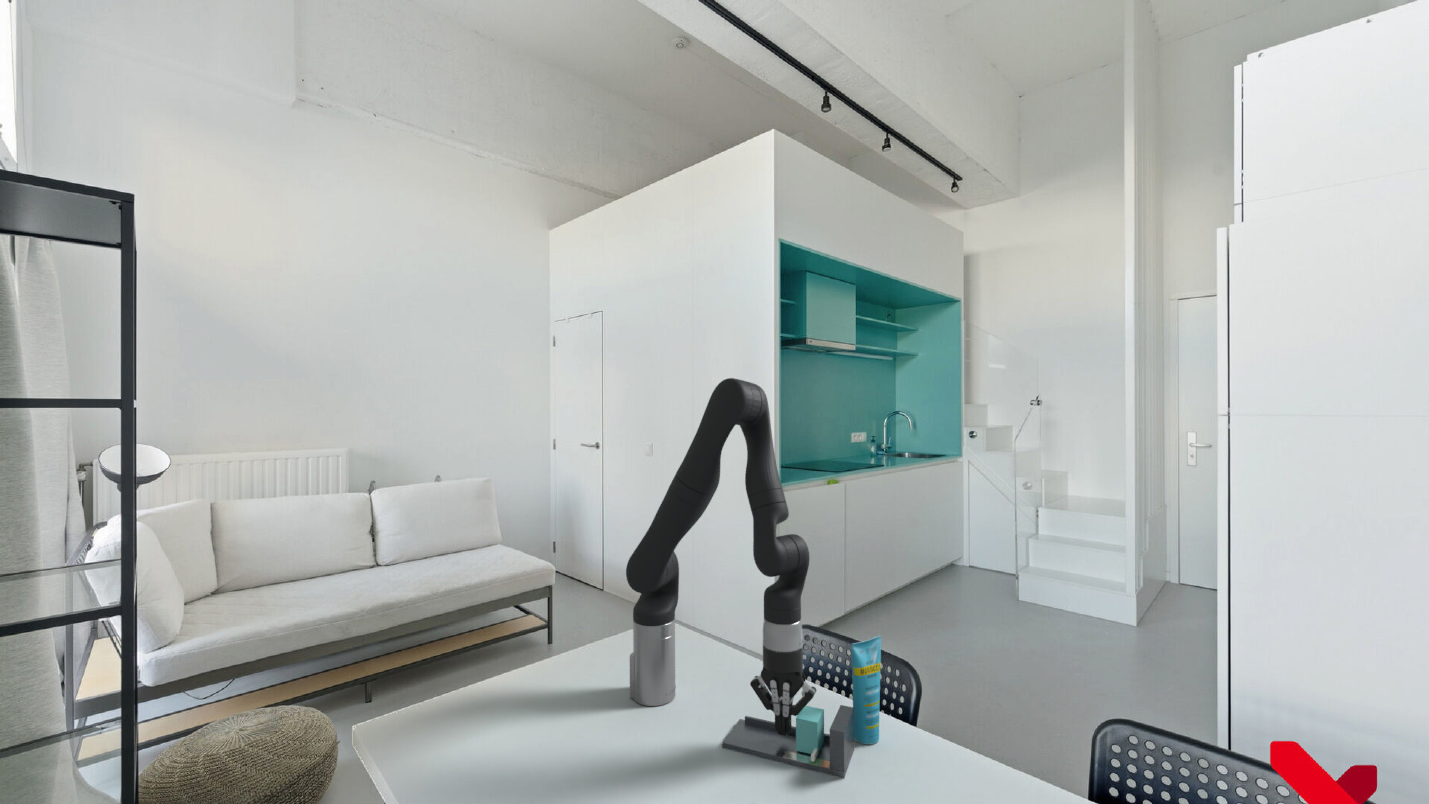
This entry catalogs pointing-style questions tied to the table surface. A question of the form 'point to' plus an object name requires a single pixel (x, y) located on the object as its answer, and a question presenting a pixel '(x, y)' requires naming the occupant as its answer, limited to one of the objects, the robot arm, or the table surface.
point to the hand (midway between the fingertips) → (783, 733)
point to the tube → (866, 689)
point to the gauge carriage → (810, 731)
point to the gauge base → (770, 745)
